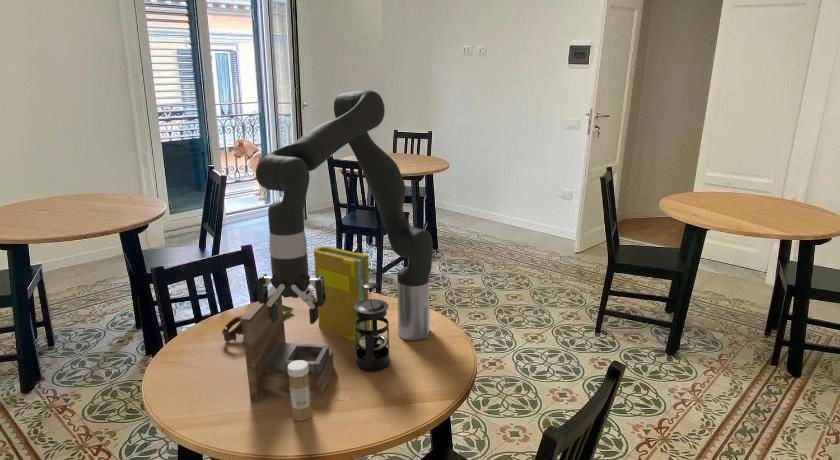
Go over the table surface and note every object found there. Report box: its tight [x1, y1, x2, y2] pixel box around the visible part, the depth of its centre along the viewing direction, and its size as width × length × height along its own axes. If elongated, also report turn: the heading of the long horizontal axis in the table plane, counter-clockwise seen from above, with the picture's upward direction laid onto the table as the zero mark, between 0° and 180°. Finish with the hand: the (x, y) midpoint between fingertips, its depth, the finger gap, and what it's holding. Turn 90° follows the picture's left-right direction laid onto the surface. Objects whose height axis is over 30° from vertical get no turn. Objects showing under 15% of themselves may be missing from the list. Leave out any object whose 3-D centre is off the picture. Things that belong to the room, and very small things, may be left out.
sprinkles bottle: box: [288, 360, 313, 422], centre depth 122 cm, size 5×5×13 cm
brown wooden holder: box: [242, 285, 335, 403], centre depth 135 cm, size 16×20×22 cm
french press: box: [354, 282, 391, 373], centre depth 142 cm, size 12×9×23 cm
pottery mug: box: [221, 316, 244, 342], centre depth 159 cm, size 12×10×8 cm
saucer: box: [282, 304, 295, 318], centre depth 174 cm, size 9×9×2 cm
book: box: [313, 245, 371, 342], centre depth 161 cm, size 17×7×25 cm, turn 58°
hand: (294, 321), depth 117 cm, fingers open, 8 cm apart
